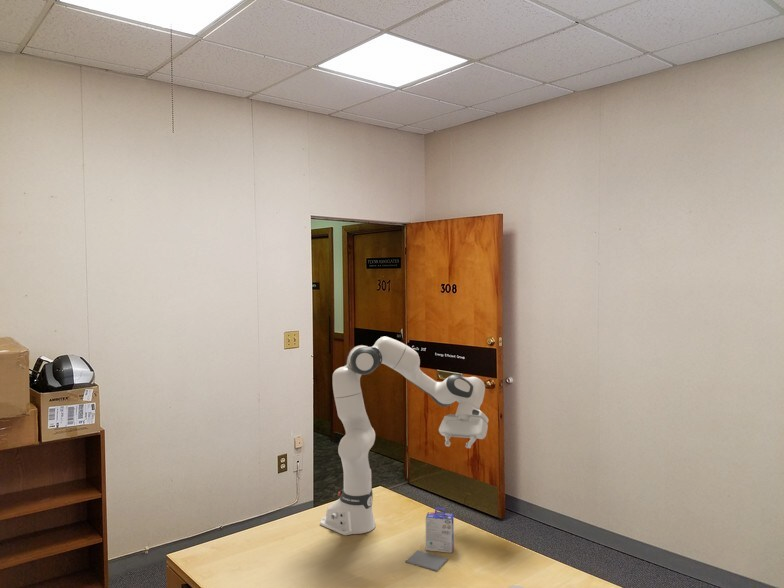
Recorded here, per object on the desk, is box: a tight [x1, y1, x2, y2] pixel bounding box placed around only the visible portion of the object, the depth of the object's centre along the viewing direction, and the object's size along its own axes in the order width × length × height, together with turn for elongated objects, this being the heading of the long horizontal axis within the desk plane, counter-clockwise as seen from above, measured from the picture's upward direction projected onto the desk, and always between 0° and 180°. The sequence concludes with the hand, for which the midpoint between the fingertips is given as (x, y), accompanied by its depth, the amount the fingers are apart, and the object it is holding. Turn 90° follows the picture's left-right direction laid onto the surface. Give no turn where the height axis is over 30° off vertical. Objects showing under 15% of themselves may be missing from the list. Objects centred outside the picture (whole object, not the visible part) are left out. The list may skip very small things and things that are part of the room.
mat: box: [405, 549, 449, 572], centre depth 192 cm, size 12×9×1 cm
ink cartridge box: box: [425, 506, 455, 554], centre depth 201 cm, size 10×6×14 cm, turn 78°
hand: (457, 446), depth 214 cm, fingers open, 8 cm apart
